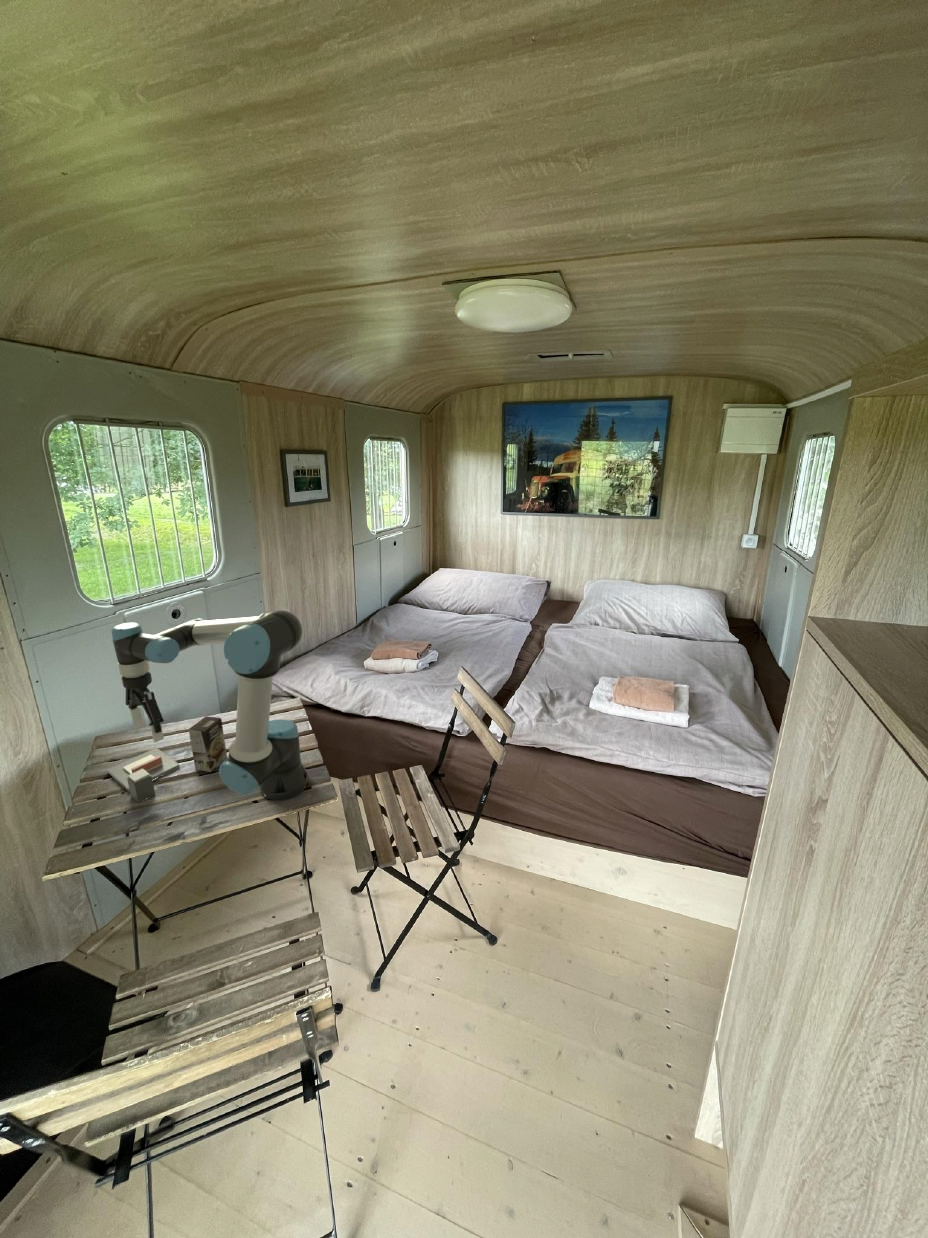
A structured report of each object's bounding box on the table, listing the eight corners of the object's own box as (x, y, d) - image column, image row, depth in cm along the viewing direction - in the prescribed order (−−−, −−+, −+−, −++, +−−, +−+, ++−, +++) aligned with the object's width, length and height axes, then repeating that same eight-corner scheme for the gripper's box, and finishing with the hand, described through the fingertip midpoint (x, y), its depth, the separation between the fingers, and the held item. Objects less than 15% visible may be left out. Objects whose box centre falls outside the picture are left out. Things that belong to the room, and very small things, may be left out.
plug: (155, 794, 160) (150, 773, 157) (138, 803, 156) (133, 782, 153) (148, 788, 163) (143, 767, 160) (131, 796, 159) (126, 775, 156)
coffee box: (211, 772, 171) (204, 731, 166) (194, 769, 172) (187, 729, 167) (228, 756, 180) (222, 717, 174) (212, 754, 181) (205, 715, 175)
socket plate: (179, 767, 173) (179, 764, 172) (129, 792, 160) (128, 788, 160) (157, 751, 181) (156, 747, 181) (107, 773, 169) (106, 769, 168)
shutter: (162, 764, 172) (161, 756, 171) (134, 777, 165) (132, 770, 164) (151, 755, 176) (149, 748, 175) (123, 768, 169) (121, 760, 168)
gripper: (168, 680, 149) (180, 741, 156) (130, 658, 162) (143, 715, 169) (141, 689, 143) (154, 752, 150) (104, 665, 156) (118, 725, 163)
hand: (148, 733), depth 160 cm, fingers open, 12 cm apart
